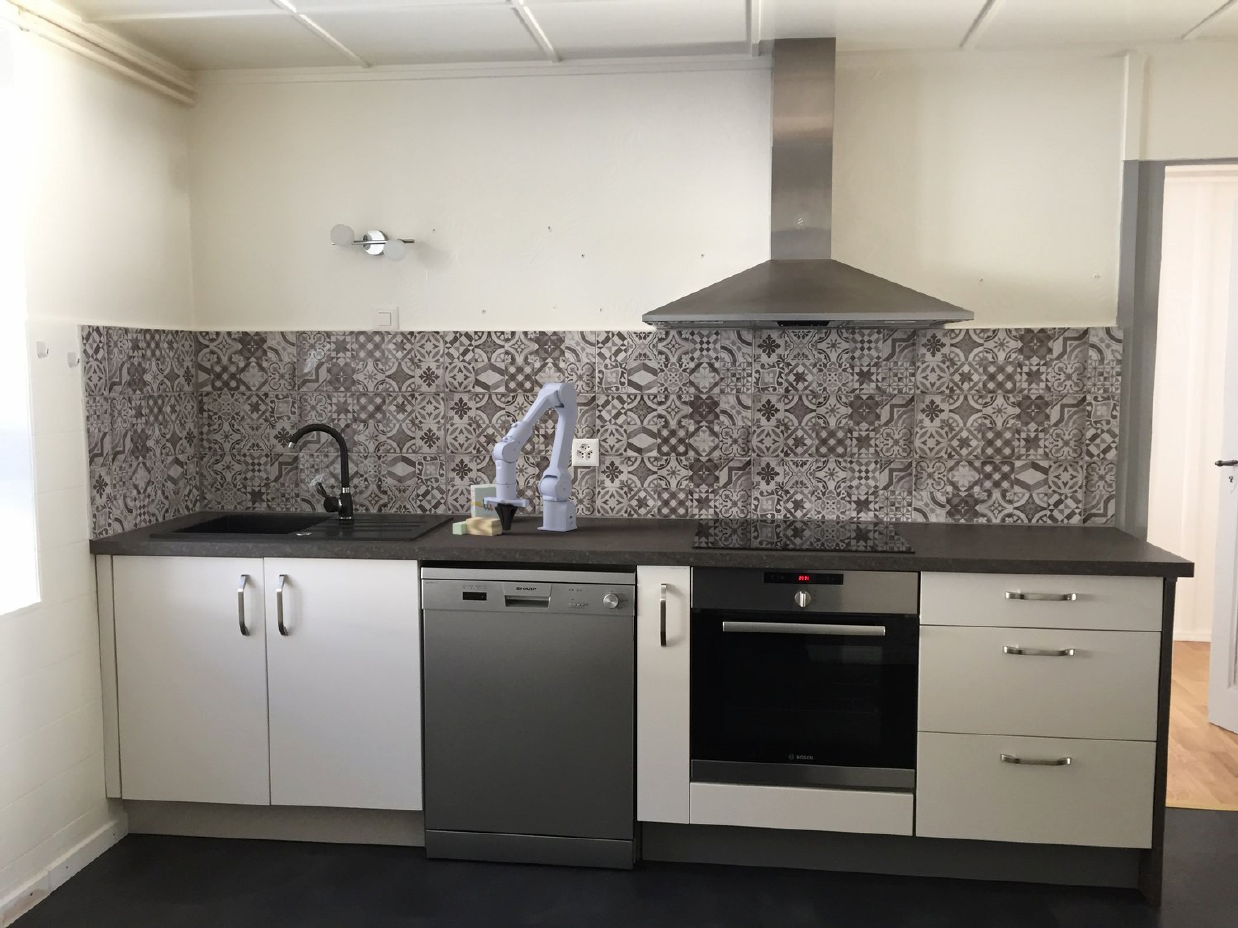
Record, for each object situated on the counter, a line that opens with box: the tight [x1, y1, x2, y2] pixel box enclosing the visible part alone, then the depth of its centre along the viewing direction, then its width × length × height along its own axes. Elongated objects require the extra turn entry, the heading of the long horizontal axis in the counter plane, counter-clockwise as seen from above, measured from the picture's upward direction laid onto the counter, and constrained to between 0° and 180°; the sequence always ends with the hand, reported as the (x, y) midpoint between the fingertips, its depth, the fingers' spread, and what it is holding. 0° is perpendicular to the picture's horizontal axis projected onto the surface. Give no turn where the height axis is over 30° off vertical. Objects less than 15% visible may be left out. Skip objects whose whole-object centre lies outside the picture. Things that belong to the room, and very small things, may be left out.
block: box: [465, 517, 503, 537], centre depth 288 cm, size 9×5×4 cm, turn 62°
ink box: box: [470, 483, 500, 519], centre depth 310 cm, size 9×9×12 cm
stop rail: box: [452, 520, 467, 536], centre depth 292 cm, size 3×14×3 cm, turn 152°
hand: (506, 530), depth 285 cm, fingers closed
